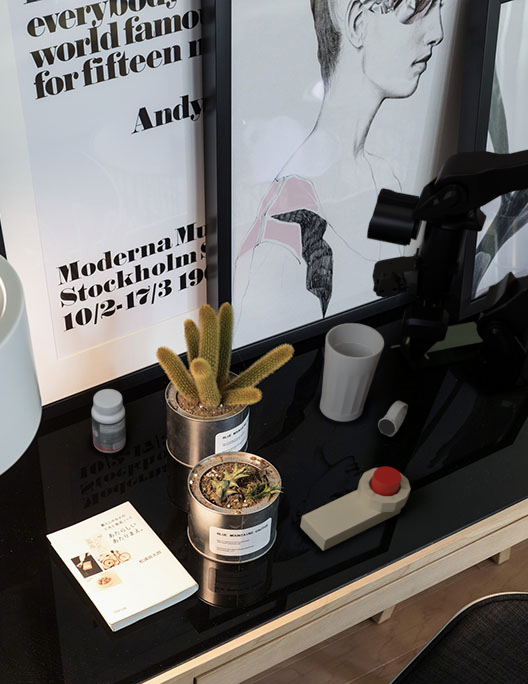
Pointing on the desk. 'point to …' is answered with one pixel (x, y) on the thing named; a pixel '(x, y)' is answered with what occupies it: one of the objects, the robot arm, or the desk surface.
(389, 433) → the grey short cylinder
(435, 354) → the dial panel
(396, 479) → the power button
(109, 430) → the pill bottle
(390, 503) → the button base
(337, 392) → the cup
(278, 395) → the desk surface
